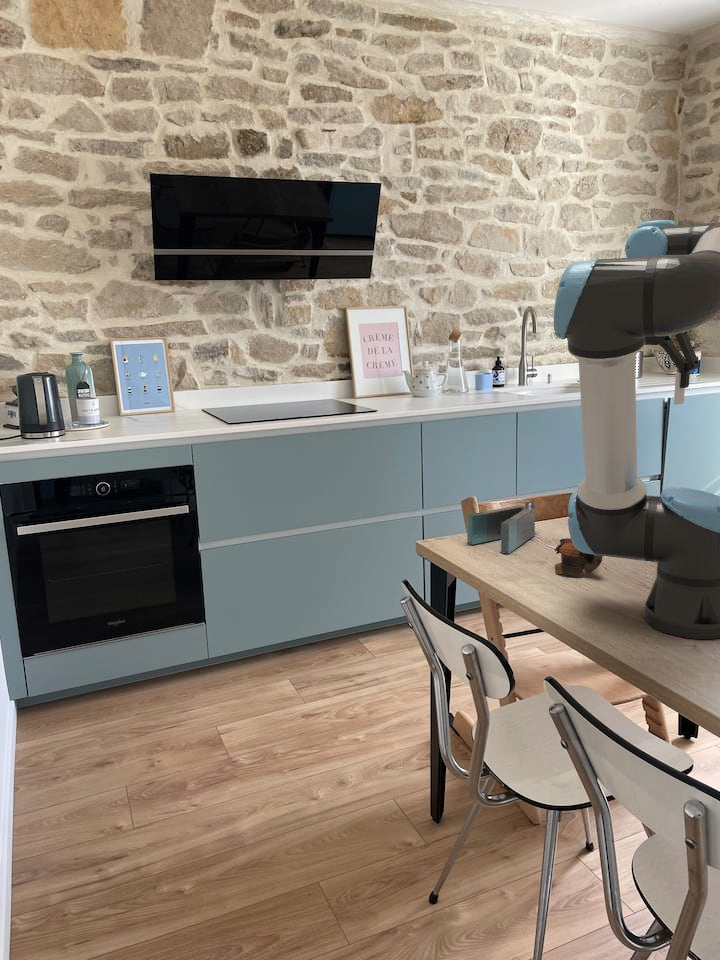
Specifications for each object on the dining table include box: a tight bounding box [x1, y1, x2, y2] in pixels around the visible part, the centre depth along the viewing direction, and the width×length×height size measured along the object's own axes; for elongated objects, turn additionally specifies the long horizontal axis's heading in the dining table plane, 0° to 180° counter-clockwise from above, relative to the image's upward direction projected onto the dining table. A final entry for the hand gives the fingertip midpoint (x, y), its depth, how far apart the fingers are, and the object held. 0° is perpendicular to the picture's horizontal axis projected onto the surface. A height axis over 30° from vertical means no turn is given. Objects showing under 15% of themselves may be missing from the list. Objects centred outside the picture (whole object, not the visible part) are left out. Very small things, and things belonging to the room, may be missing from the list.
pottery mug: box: [554, 537, 603, 579], centre depth 158 cm, size 12×10×8 cm
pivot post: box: [524, 501, 535, 509], centre depth 185 cm, size 2×2×8 cm
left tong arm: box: [466, 504, 525, 546], centre depth 182 cm, size 16×2×7 cm, turn 118°
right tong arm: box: [500, 507, 536, 554], centre depth 177 cm, size 16×2×7 cm, turn 146°
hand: (648, 401), depth 159 cm, fingers open, 13 cm apart
